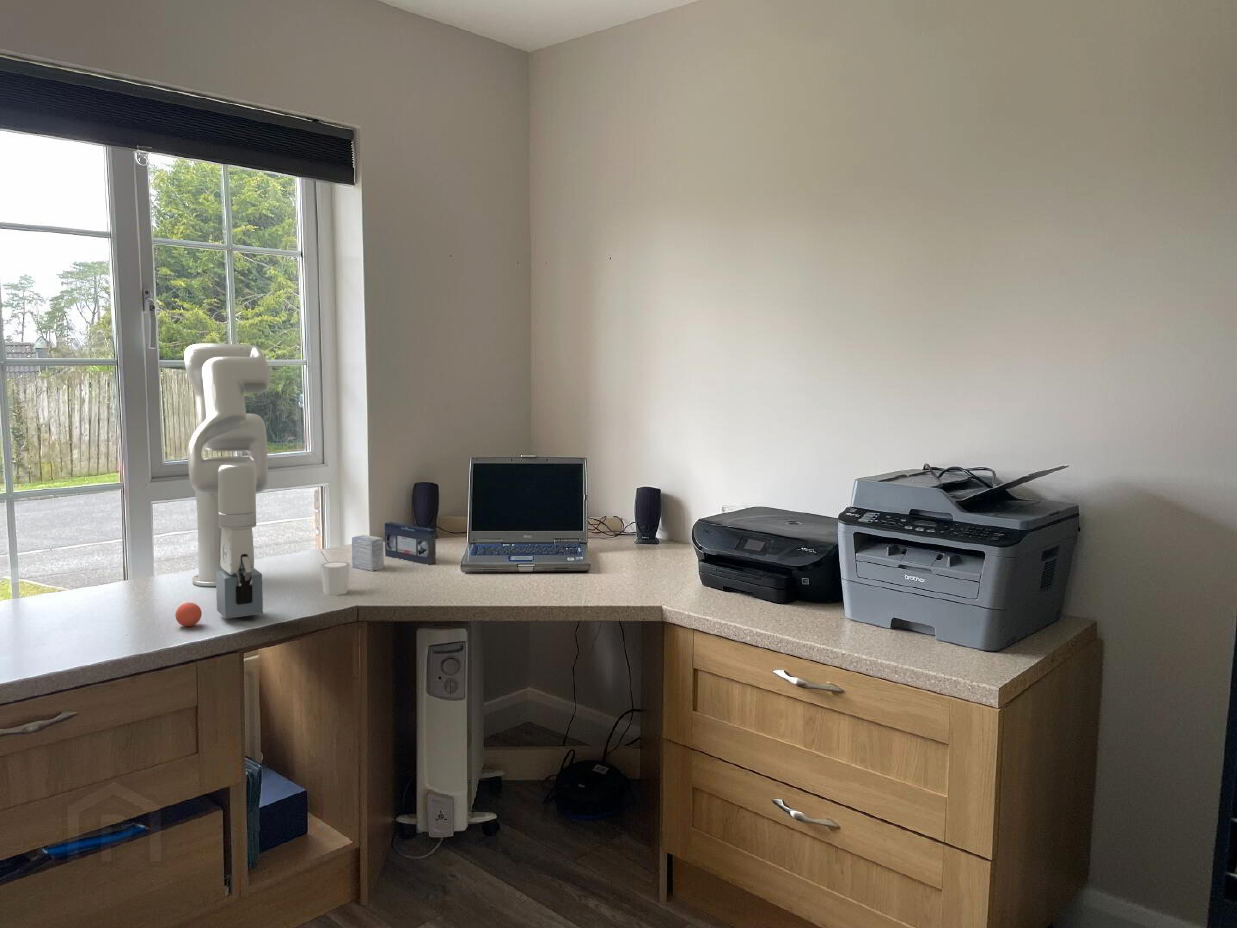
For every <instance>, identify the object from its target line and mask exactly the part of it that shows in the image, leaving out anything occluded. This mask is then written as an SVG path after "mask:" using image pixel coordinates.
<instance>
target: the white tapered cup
mask: <svg viewBox="0 0 1237 928" xmlns="http://www.w3.org/2000/svg"><path fill="white" fill-rule="evenodd" d="M350 566H351V564H350V563H349V562H346V561H329V562H324V563H321V564H320V570H321V571H320V572H321V580H322V590H323V594H324V595H326V594H327V596H340V595H345V594H347V593H348V592H349V591H348V590H349V578H350V577H349V575H350V568H351V567H350Z"/></svg>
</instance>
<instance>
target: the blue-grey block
mask: <svg viewBox="0 0 1237 928" xmlns="http://www.w3.org/2000/svg"><path fill="white" fill-rule="evenodd" d="M238 571H239V572H240V571H244V570H238ZM242 576H243V575H242ZM242 576H240V578H241V577H242ZM251 576H252V577H251V578H252V603H247V604H240V605H238V604H237V603H236V586H238V584H237V577H236V573H234V574H233V575H230V574H229V573H227V572H226V571H225V570H221V571H216V586H215V588H216V590H215V591H216V592H215V593H216V594H215V595H216V611H217V612H218V613H219V614H220V615H221V616H222V617H223V618H224V619H225V620H227V619H232V618H240V617H248V616H253V615H260V614H263V613H264V603H263V601H264V598H263V595H264V594H263V592H264V591H263V573H262V572H260V571H259V570H258V569H256V568H254V570H253V571H252V573H251Z"/></svg>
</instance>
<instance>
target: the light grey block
mask: <svg viewBox="0 0 1237 928" xmlns="http://www.w3.org/2000/svg"><path fill="white" fill-rule="evenodd" d="M384 556H385V555H384V538H382V537H379V536H372V535H368V534H361V535H355V536H353V537H352V538H351V558H352V560H351V564H352V568H353V569H359V570H364V571H368V570H370V571H369V572H375V571H374V570H377V571H380V570H383V569H384V566H385V564H384V560H385V559H384Z"/></svg>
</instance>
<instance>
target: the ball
mask: <svg viewBox="0 0 1237 928" xmlns="http://www.w3.org/2000/svg"><path fill="white" fill-rule="evenodd" d="M202 612H203V611H202V609H201V607H200V606H199V605H198V604H196V603H194V602H184V603H182V604H181V605H180V606H178V607H177V609H176V611H175V619H176V622H177V623H178V624H179V625H181V626H183V627H193V626H195V625H196V624H198V623H199V622H200V621H201V619H202Z"/></svg>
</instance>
